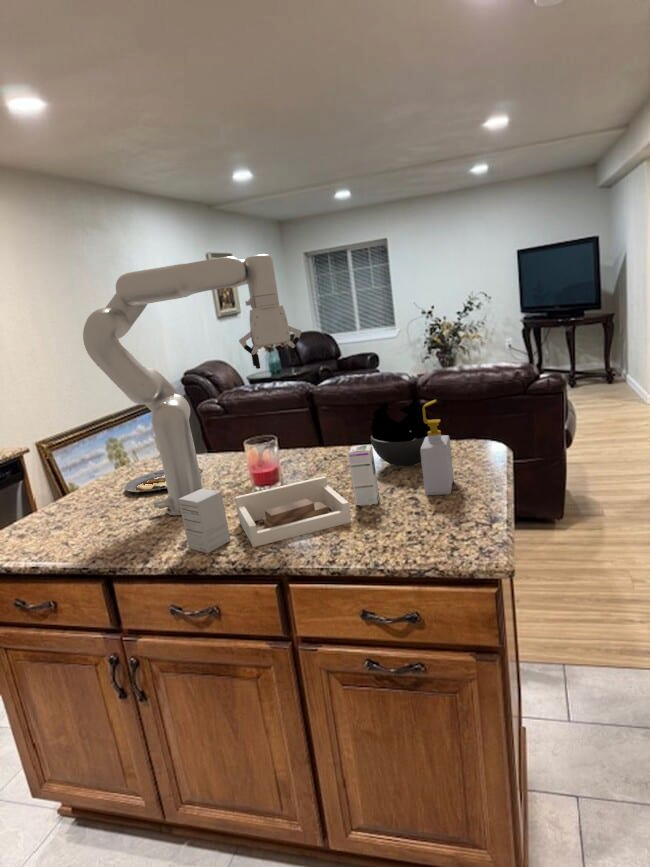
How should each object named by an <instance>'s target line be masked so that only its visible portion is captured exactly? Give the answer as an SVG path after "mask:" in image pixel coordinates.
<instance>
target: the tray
mask: <svg viewBox="0 0 650 867" xmlns="http://www.w3.org/2000/svg"><path fill="white" fill-rule="evenodd" d="M234 498H235V502H236V503H235V504H236V510H237V514H238V519H239V523H240V525H241V527H242V529H243V531H244V533H245V534H246V537H247V538H248V540H249V542H250V544H251V546H252V547H253V548H256V547H258V546H259V547H260V546H263V545H267V544H271V543H275V542H280V541H282V540H287V539H290V538H295V537H298V536H302V535H307V534H310V533H311V534H312V533H314V532H320V531H322V530H323V531H324V530H326V529H329V528H334V527H337V526H342V525H346V524H350V523H352V517H351V511H350V509H351V508H350V503H349V502H348V501H347V500H346V499H345V498H344V497H342V495H340V493H338V492H337V491H335V490H334V489H333V488H332V487H330V485H328V482H327V477H326V476H320V477H315V478H310V479H307V480H302V481H297V482H293V483H290V484H285V485H281V486H276V487H271V488H267V489H264V490H257V491H255V492H249V493H246V494H245V493H244V494H241V495H236V496H234ZM303 499H308V500H310V501H311V502H313V503H316V502H321V503H323V504H324V505H325V504H326V505H327V506H328V507H329V508H330V509H331V510H332V511H331V510H330V509H329V508H328V509H329V510H330V511H331V512H330V513H328V514H324V515H320V516H316V517H312V518H308V519H303V520H299V521H295V522H291V523H287V524H283V525H279V526H275V527H271V528H267V529H263V530H259V531H257V528H258V527H257V524H256V522H255V521H260V520H264V519H263V518H266V515H265V511H266V510H269V509H272V508H276V507H279V506H283V505H286V504H289V503H293V502H296V501H300V500H303Z"/></svg>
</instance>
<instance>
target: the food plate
mask: <svg viewBox="0 0 650 867" xmlns="http://www.w3.org/2000/svg"><path fill="white" fill-rule="evenodd" d="M199 472H200V475H201V474H202V473H203V469H201V468H200V467H199ZM162 476H164V470H163V469H160V470H155V471H152V472H150V473H147V474H143V475H140V476H137V477H136V478H133V479H132V480H130V481H128V482H127V483H126V484H125V486H124V490H126V492H128V491H129V492H134V493H140V492H141V493H143V492H148V493H149V492H153V491H161V490H162V489H163V490H165V489H167V484H166V482H165V481H166V480H165V478H158V479H154V478H157V477H162ZM148 480H149V481H148ZM147 481H148V482H147ZM142 483H143V485H142V486H138V485H140V484H142ZM153 483H157V484H153ZM145 484H152V485H146V486H144V485H145ZM137 486H138V487H137ZM135 488H136V490H135Z"/></svg>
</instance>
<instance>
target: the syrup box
mask: <svg viewBox="0 0 650 867" xmlns="http://www.w3.org/2000/svg"><path fill="white" fill-rule="evenodd" d="M347 456H348V463H349V470H350V475H351V477H350V478H351V482H352V488H353V489H352V490H353V495H354V502H355V506H356V505H363V506H369V505H368V504H375V505H378V502H379V499H380V492H379V484H378V478H377V471H376V463H375V458H374V457H375V456H374V448H373V446H372V444H361V445H354V446H350V449H349V450H348V452H347Z"/></svg>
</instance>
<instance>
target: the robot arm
mask: <svg viewBox="0 0 650 867" xmlns="http://www.w3.org/2000/svg"><path fill="white" fill-rule="evenodd" d="M245 285H247V286H248V287H247V289H248V293H249V299H247V300H245V306H246V307H247V306H248V307H251V309H249V328H250V331H249V332H247V333H246V334H245V335H244V336H242V337H241V338H240V339H238V342H239V344H240V345H241V347H242V348H243V349H244V350H245V351H247V352H248V353H249V354H250V355H251V359H252V365H253V367H255V369H256V370H259V369H260V368H261V365H260V364H261V363H260V357H259V354H258V350H259V348H260V347H266V346H273V345H278V344H285V345H286V346H287V349H286V350H287V356H288V357H287V358H288V361H289V363H293V364H294V363H295V360H296V353H295V348H296V345H297V344H298V343H299V341H300V337H301V335H302V330H301V329H298V328H296V327H292V326H289V323H288V319H287V318H288V317H287V315H286V311H285V309H284V306H283V305H280V300H279V293H278V286H277V281H276V273H275V267H274V260H273V258H272V256H271V255H270V254H265V253H263V254H256V255H250V256H247V257H246V258H237V257H235V256H223V257H217V258H216V257H215V258H211V259H210V258H209V259H204V260H199V261H194V262H188V263H187V262H186V263H180V264H179V263H178V264H173V265H167V266H161V267H154V268H149V269H143V270H137V271H130V272H127V273H124V274H121V275H120V276H119V277H118V278H117V280H116V282H115V291H116V292H115V294H114V295H113V296H112V298H111V300H110V301H109V302H108V303H107V305H106V306H105V307H102V308H98V309H96V310H94V311H92V312H91V313H90V314H89V316H88V317H87V318H86V321H85V323H84V326H83V331H82V339H83V345H84V347H85V351H86V353H87V354H88V356H89V358H90V359H91V360H92V361H93V363H95V365H96V366H97V367H99V369H100V370H101V371H102V372H103V373H104V374H105V375H106V376H107V377H108V378H109V380H111V382H113V383H114V385H116V387H118V389H120V390H121V391H122V393H123V394H124V395H125V396H126V397H127V398H128V399H129V400H130V401H131V402H132V403H134V404H137V405H141V406H146V407H147V409H149V410H150V411H151V412H152V413H151V426H152V429H153V432H154V433H153V434H154V436H155V439H156V442H157V446H158V452H159V455H160V460H161V465H162V470H164V475H165V480H166V484H167V488H166V489H167V493H168V494H167V497H165V498H164V499H162V500H155V501H153V502H152V503H153V507H154V509H159V510H160V509H165V508H166V509H165V510H166V512H165V513H166V514H167V513H168V514H171V515H182V514H181V509H180V505H179V500H178V499H179V498H182V497H184V496H186V495H189V494H191V493H193V492H195V491H198V490H200V489H204V487H203V483H202V479H201V478H202V477H201V474H200V472H199V468H200V467H199V463H198V458H197V457H198V456H197V453H196V448H195V447H196V446H195V443H194V438H193V433H192V429H191V425H190V416H191V406H190V404H189V402H188V401H187V399H186V398H185V397H184V396H183V395H182V394H181V393H180V392H179V390H177V389H176V388H175V387H174V386H173V385H172V384H171V383H170V382H169V380H168V379H166V378H165V376H163V375H162V373H160V372H159V371H158V370H156V369H155V368H152V367H150V366H143V365H142V364H141V363H140V362H139V361H138V360H137V358H135V356H134V355H133V354H132V353H131V352H130V351H129V350H128V349H126V348H125V347H124V346H123V345H122V344H121V342H120V339H121V338H123V337H124V336H126V335H127V333H128V332H129V331H130V329H131V328H132V327H133V325H134V324H135V322H136V321H137V320H138V318H139V317H140V316H141V315H142V313H143V312H144V310H145V309H146V308H147V306H148V304H154V303H161V302H165V301H166V302H167V301H171V300H177V299H183V298H187V297H189V296H191V295H195V294H198V293H202V292H207V291H214V290H219V289H220V290H221V289H225V288H226V289H227V288H229V289H234V288H238V287H241V286H245ZM291 333H293V334H294V337H293V338H292V340H291ZM249 339H251V342H252V346H249V345H248V344H247V341H248V340H249ZM168 514H167V515H168Z"/></svg>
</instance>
